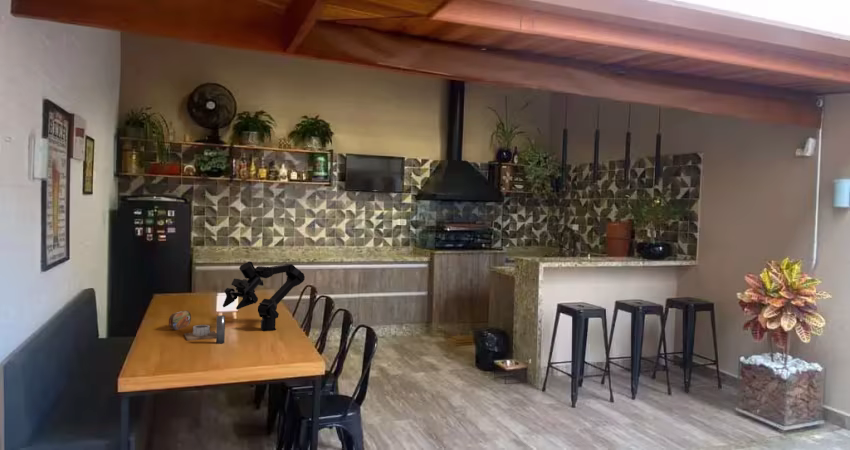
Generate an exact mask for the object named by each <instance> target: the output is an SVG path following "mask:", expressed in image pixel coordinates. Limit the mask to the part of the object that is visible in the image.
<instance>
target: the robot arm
mask: <svg viewBox="0 0 850 450" xmlns="http://www.w3.org/2000/svg"><path fill="white" fill-rule="evenodd" d="M239 271H240V272H241V274H242V275H243V276H242V277H244V279H240V278H234V279H233V280H232V282H231V284H230V286H233V287H235V288H231V287H230V288H229V287H226V288H225V289H224V293H225V295H226V297H225V299H224V302H223V304H222V307H223V308H226V307H227V306H229V305H231V304H232V303H234V302H235V300H237V299H238V297H239V298H242V299H241V300H240V302H238V304H237V306H236V307H235V309H236V310H240V309H242V308H245V307H248V306H250V305H253V304H257V302H259V301H258V300H259V297H258V296H257V294H256V289H257V287H258V286H261V287H262V286H263V287H264V280H263V279H269V278H271V277H273V275H277V274H282V273H285V275H286V281H285V282H284V283H283V284H282V286H281V287H279V288H278V290H277V291H276V292H275V293H274V294H272V296H271V297H270V298H263V299H262V301H261V302H259V303H258V307H257V313H258V316H259V318H261V320H260V330H262V331H264V332H265V331H268V332H269V331H276V330H277V328H276V319H278V318H279V315H280V314H279V312H278V311H277V309H278V305H279V304H280V302H281V301H283V299H284V298H285V297H286V296H287V295H288V294H289V292H291V290H293V288H294V287H297V286H299V285H301V284H302V283H303V282H305V277H306V276H305V274H304V272H302V271H301V270H300V269H298V267H295V265H294V264H293V263H285V264H280V265H278V264H277V265H273V266H264V265H262V266H261V265H257V266H256V267H255V266H254V264H253V262H252V261H247V262H245V263H243V264H241V265H240V266H239ZM261 278H262V279H261Z"/></svg>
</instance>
